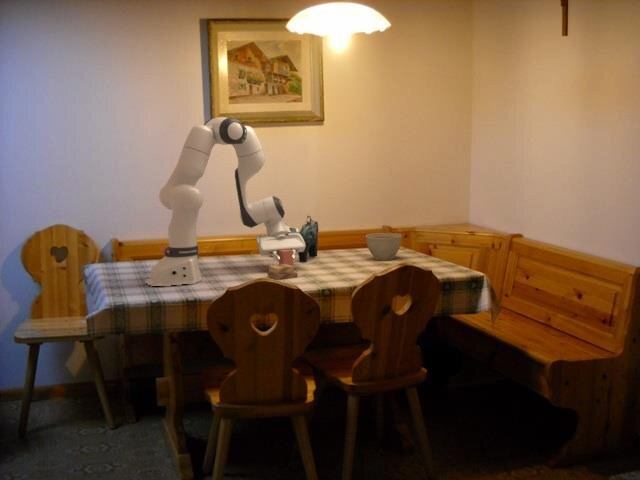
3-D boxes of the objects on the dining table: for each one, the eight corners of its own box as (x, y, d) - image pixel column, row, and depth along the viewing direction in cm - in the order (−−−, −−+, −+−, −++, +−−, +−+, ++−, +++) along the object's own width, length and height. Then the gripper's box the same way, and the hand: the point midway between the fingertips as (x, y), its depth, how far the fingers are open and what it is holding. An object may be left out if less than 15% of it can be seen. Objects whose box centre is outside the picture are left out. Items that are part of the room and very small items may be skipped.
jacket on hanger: (309, 255, 364) (308, 213, 362) (322, 255, 362) (321, 213, 360) (295, 262, 346) (294, 218, 343) (308, 263, 344) (307, 218, 341)
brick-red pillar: (283, 272, 322) (283, 251, 320) (279, 271, 326) (278, 250, 324) (293, 271, 324) (292, 250, 323) (288, 270, 328) (287, 249, 326)
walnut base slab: (277, 281, 307) (277, 275, 306) (267, 277, 314) (267, 271, 314) (297, 278, 311) (297, 272, 311) (287, 275, 319) (287, 269, 319)
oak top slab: (277, 274, 308) (277, 268, 307) (269, 272, 314) (268, 266, 314) (294, 272, 311) (293, 266, 311) (285, 269, 318) (285, 263, 317)
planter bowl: (358, 259, 351) (358, 235, 350) (383, 254, 362) (382, 232, 360) (384, 263, 340) (384, 239, 338) (408, 258, 350) (408, 235, 349)
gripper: (256, 231, 325) (264, 257, 317) (301, 228, 332) (310, 253, 325) (253, 240, 330) (261, 266, 322) (298, 237, 337) (306, 262, 330)
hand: (286, 260), depth 323 cm, fingers closed on brick-red pillar, 5 cm apart
